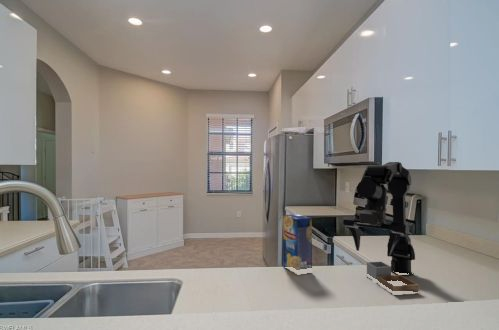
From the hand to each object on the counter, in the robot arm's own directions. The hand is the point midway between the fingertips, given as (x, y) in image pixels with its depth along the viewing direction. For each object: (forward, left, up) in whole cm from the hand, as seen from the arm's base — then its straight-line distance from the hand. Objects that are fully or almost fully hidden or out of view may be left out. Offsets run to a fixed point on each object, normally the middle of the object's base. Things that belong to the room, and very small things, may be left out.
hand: (372, 253), depth 90 cm
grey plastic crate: (-13, -17, -16) cm, 26 cm away
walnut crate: (-14, -8, -15) cm, 23 cm away
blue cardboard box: (+14, -32, -16) cm, 38 cm away
